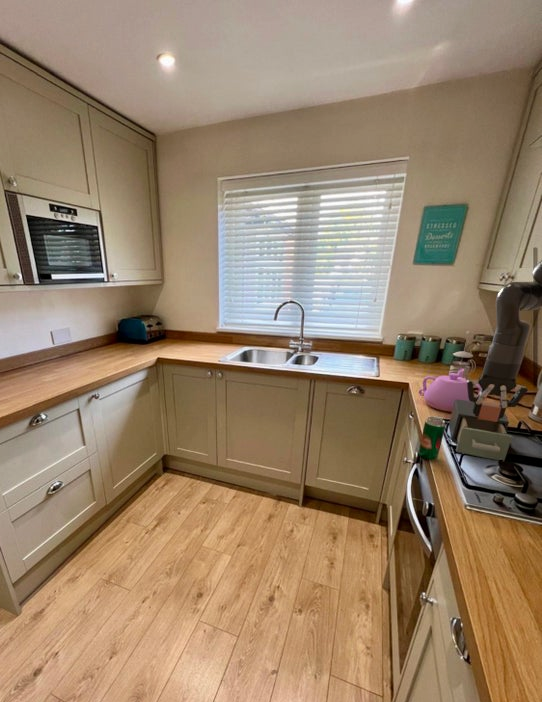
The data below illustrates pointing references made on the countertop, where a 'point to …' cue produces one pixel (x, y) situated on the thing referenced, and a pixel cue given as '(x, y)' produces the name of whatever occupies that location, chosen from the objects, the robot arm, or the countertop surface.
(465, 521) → the countertop surface
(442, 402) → the teapot
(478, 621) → the countertop surface
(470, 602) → the countertop surface
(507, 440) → the drawer
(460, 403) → the cabinet
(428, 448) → the soda can
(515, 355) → the robot arm
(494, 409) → the block
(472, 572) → the countertop surface
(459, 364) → the french press
